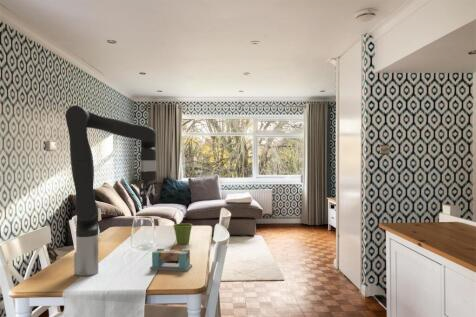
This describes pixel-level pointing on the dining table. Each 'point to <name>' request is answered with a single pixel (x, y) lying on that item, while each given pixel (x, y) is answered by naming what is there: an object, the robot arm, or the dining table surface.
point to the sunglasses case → (173, 261)
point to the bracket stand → (161, 265)
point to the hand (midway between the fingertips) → (148, 204)
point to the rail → (171, 255)
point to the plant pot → (182, 232)
